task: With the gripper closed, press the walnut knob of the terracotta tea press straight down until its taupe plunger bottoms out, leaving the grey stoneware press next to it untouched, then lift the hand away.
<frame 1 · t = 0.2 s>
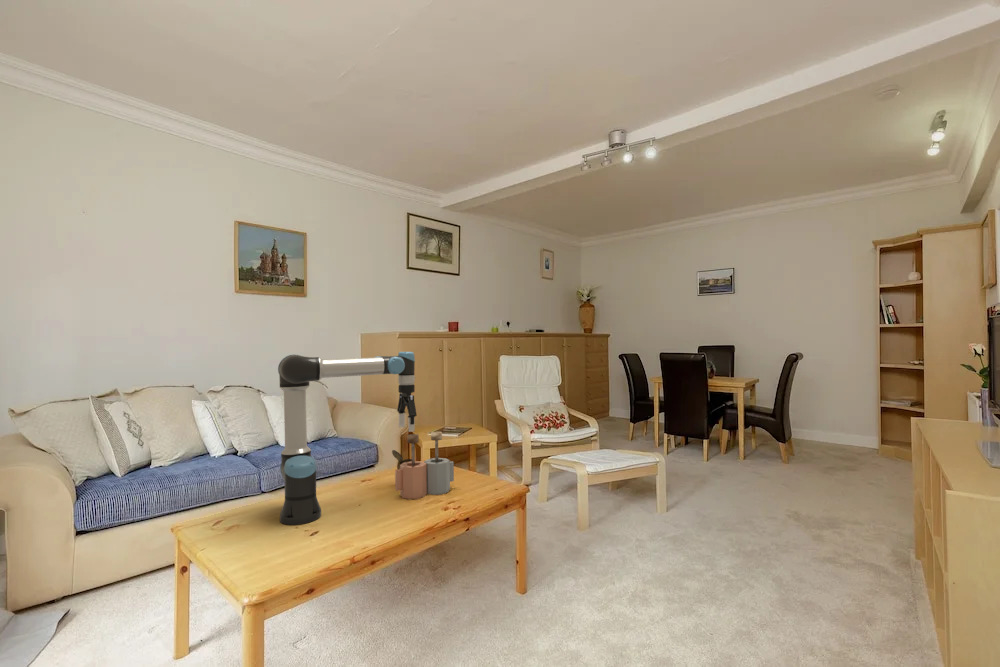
hand: (406, 429, 225), 28 cm above the table, fingers open, 13 cm apart
wooden mug: (404, 484, 234), on the table
grey plunger: (436, 449, 222), point 19 cm above the table, slide at 0.0 cm
taupe plunger: (413, 453, 217), point 19 cm above the table, slide at 0.0 cm
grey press: (437, 491, 222), on the table
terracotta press: (413, 495, 216), on the table
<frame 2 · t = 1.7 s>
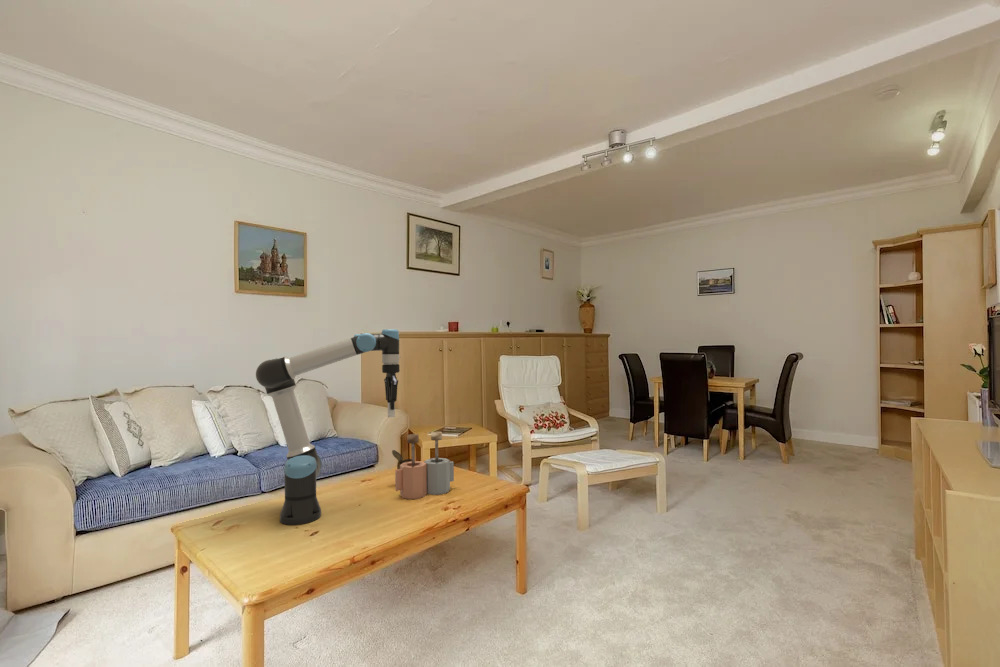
hand: (391, 416, 212), 36 cm above the table, fingers closed
nothing on the table moved.
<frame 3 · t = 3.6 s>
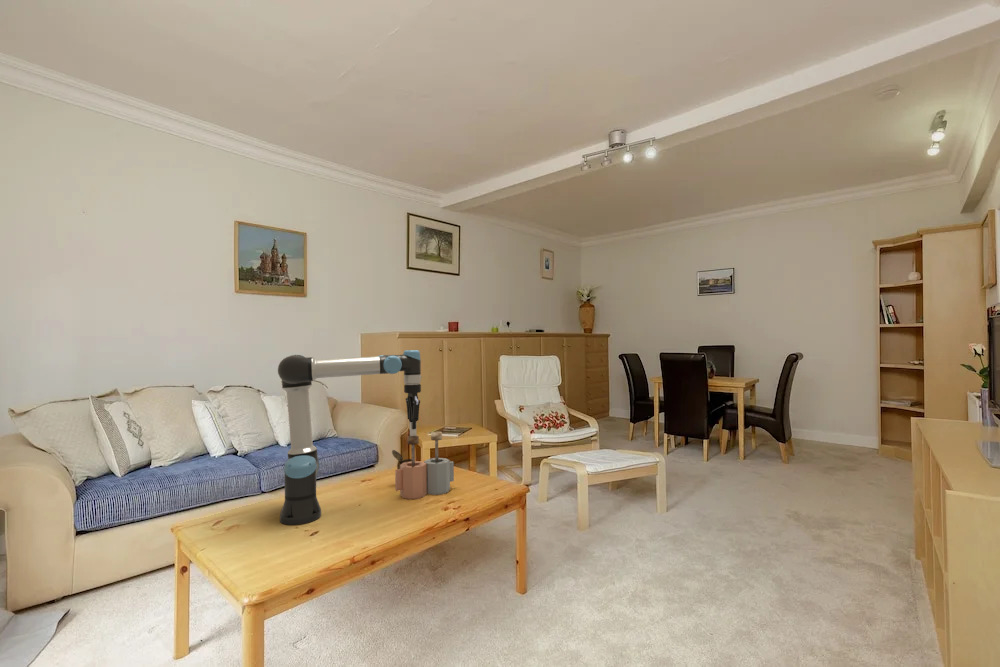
hand: (413, 435, 217), 27 cm above the table, fingers closed
taupe plunger: (413, 454, 217), point 19 cm above the table, slide at 0.6 cm, touching gripper
everything else where it was.
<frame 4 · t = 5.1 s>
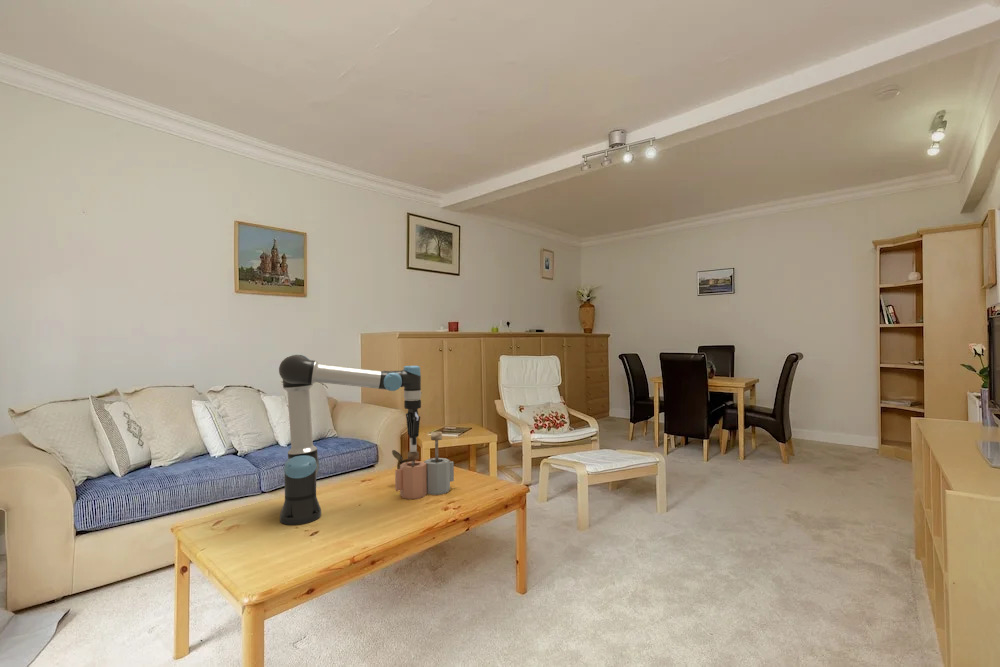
hand: (413, 451, 217), 20 cm above the table, fingers closed
taupe plunger: (413, 470, 216), point 11 cm above the table, slide at 7.7 cm, touching gripper
everything else where it was.
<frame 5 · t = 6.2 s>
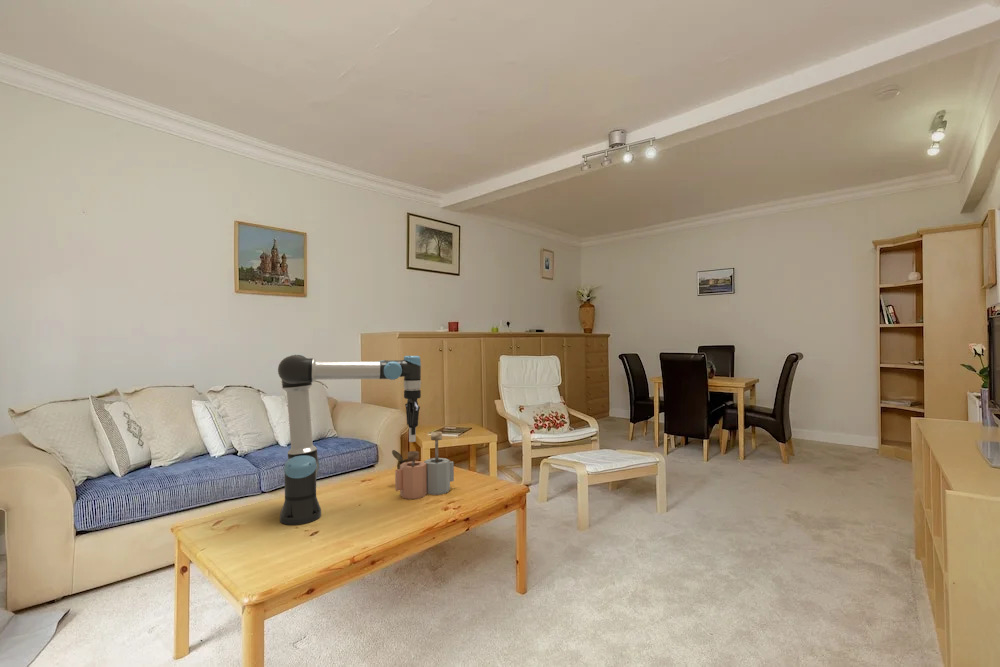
hand: (412, 441, 217), 24 cm above the table, fingers closed
taupe plunger: (413, 470, 216), point 11 cm above the table, slide at 7.8 cm
everything else where it was.
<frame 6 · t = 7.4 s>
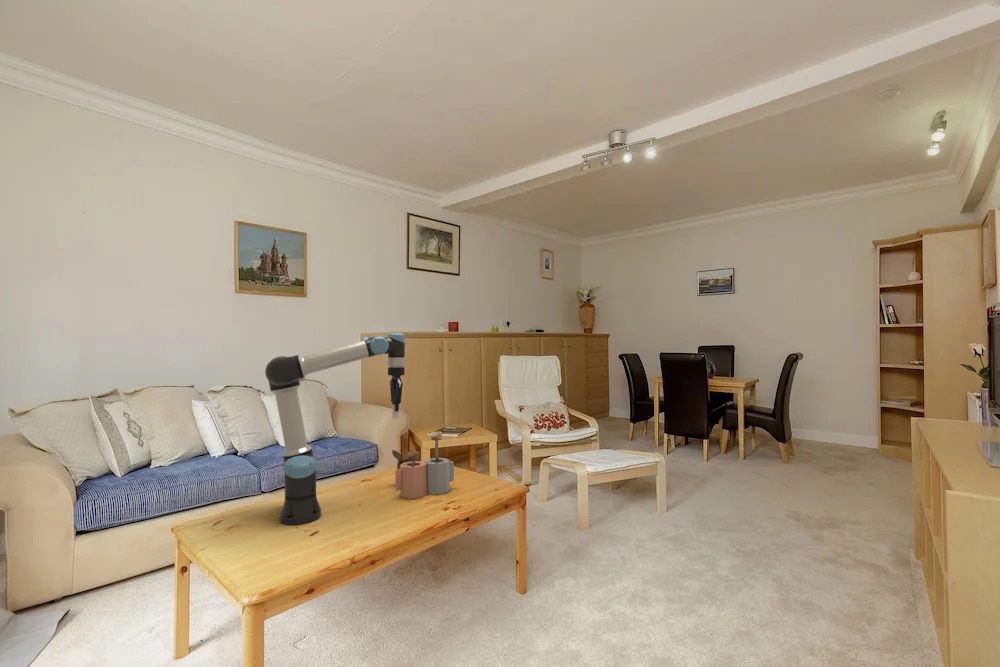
hand: (395, 418, 218), 35 cm above the table, fingers closed
nothing on the table moved.
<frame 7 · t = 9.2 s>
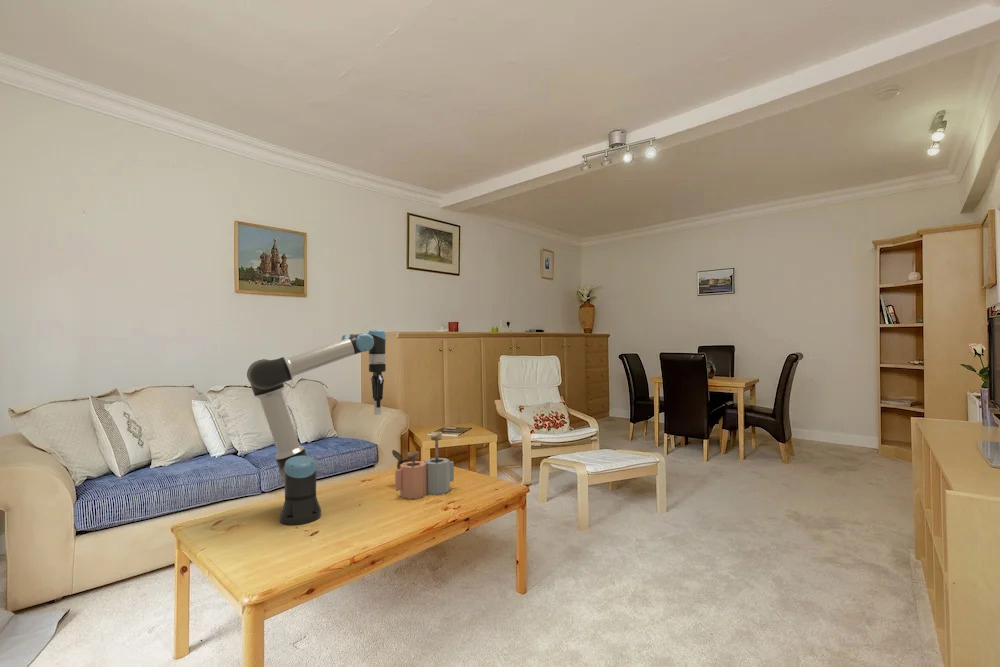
hand: (377, 414, 220), 36 cm above the table, fingers closed
nothing on the table moved.
at the end: taupe plunger slide at 7.8 cm; grey plunger slide at 0.0 cm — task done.
